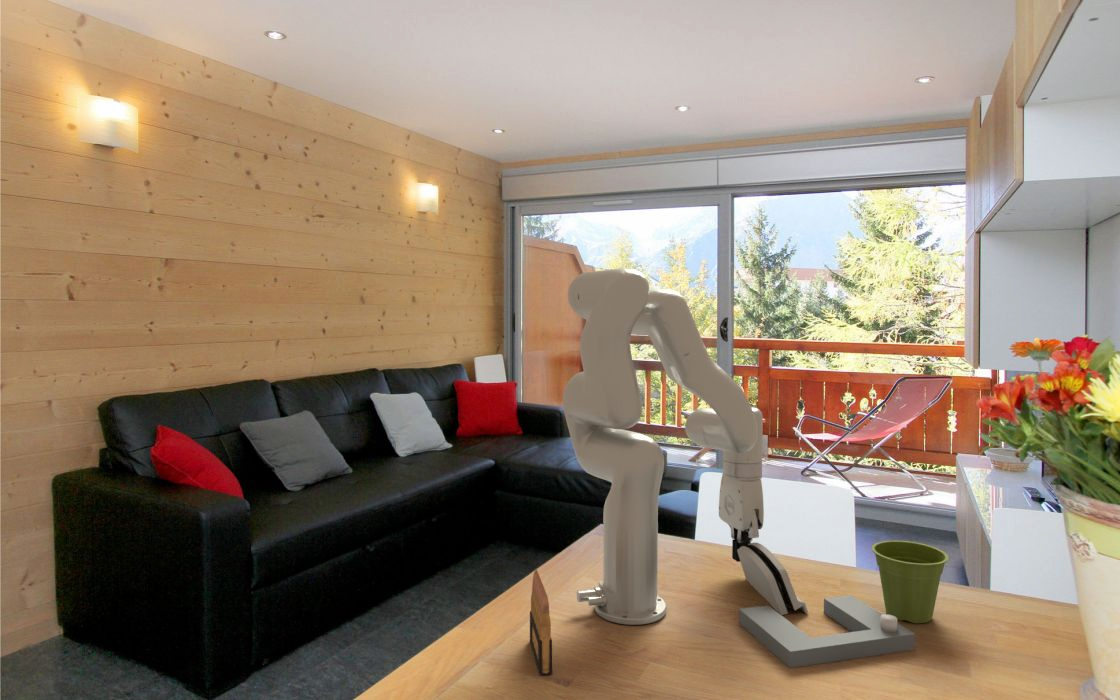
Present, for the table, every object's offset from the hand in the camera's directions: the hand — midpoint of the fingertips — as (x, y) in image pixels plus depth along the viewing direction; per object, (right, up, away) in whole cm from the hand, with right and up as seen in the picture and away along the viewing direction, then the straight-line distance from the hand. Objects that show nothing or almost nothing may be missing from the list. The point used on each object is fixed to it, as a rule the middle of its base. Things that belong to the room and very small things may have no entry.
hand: (741, 559), depth 135 cm
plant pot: (+24, -4, -18) cm, 30 cm away
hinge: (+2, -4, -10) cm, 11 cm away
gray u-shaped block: (+6, -5, -25) cm, 27 cm away
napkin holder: (-39, -5, -32) cm, 51 cm away
